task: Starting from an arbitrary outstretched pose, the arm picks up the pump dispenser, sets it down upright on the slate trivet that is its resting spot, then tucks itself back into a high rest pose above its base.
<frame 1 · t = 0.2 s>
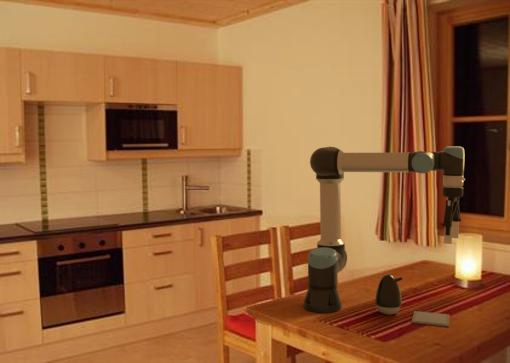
hand: (451, 240, 213), 28 cm above the table, fingers open, 13 cm apart
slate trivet: (430, 319, 205), on the table
pump dispenser: (388, 313, 214), on the table
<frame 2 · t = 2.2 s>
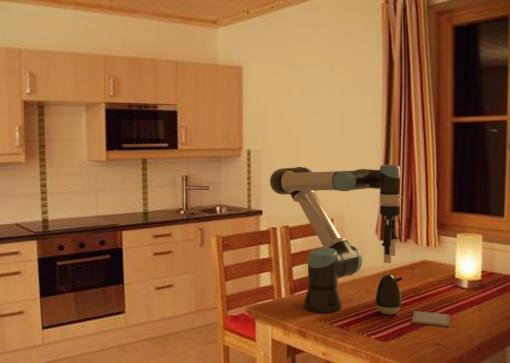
hand: (389, 259, 212), 21 cm above the table, fingers open, 13 cm apart
nothing on the table moved.
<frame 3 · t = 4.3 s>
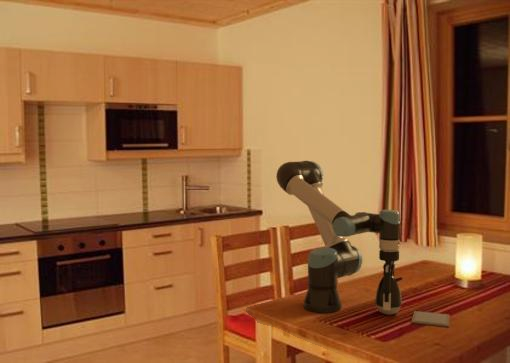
hand: (388, 305, 213), 3 cm above the table, fingers closed on pump dispenser, 10 cm apart
pump dispenser: (388, 313, 214), on the table, touching gripper
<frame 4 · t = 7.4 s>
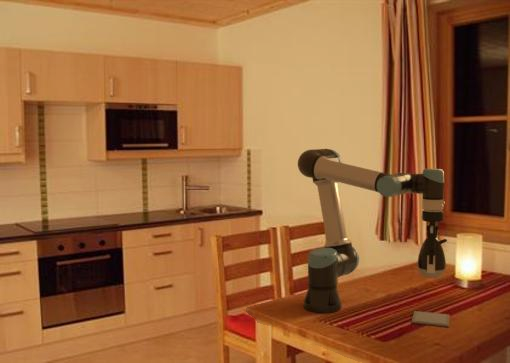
hand: (431, 269, 204), 19 cm above the table, fingers closed on pump dispenser, 10 cm apart
pump dispenser: (431, 277, 204), point 16 cm above the table, touching gripper
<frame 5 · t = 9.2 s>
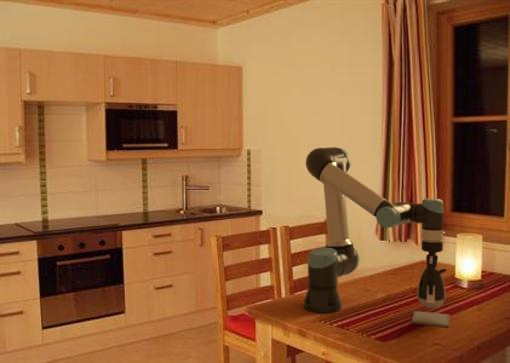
hand: (431, 298, 204), 8 cm above the table, fingers closed on pump dispenser, 10 cm apart
pump dispenser: (431, 306, 205), point 5 cm above the table, touching gripper
when the fingers open (5 cm above the table, at t = 10.5 s): pump dispenser drops 1 cm, resting on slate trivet.
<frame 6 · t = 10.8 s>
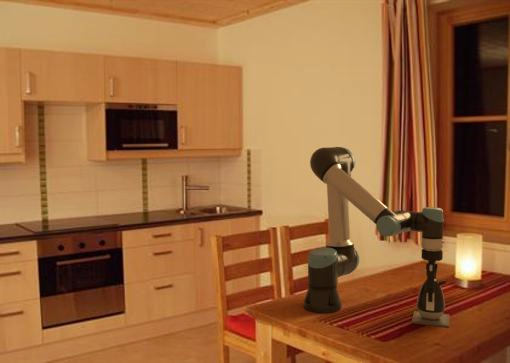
hand: (431, 304, 205), 6 cm above the table, fingers open, 13 cm apart
pump dispenser: (430, 318, 205), point 1 cm above the table, touching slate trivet
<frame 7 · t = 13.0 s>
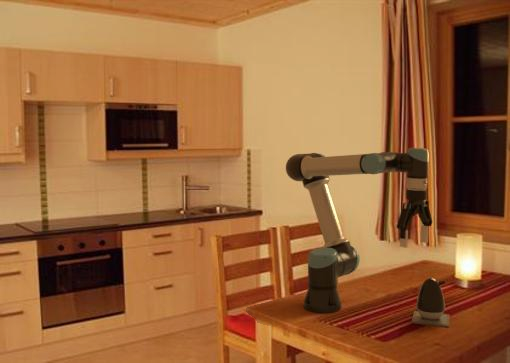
hand: (413, 244, 207), 28 cm above the table, fingers open, 13 cm apart
nothing on the table moved.
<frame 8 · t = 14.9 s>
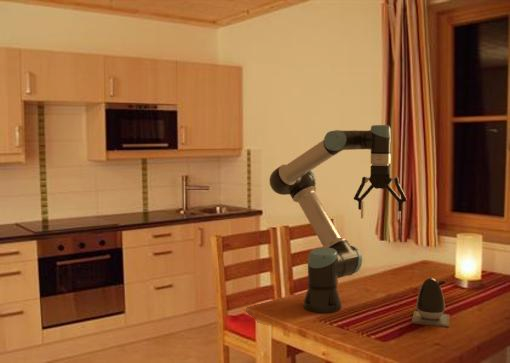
hand: (379, 218, 214), 37 cm above the table, fingers open, 13 cm apart
nothing on the table moved.
at the end: pump dispenser inside the target area on the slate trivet (0.0 cm from its centre), point 0.5 cm above the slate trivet's base; pump dispenser tilted 0°; the gripper is holding nothing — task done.
